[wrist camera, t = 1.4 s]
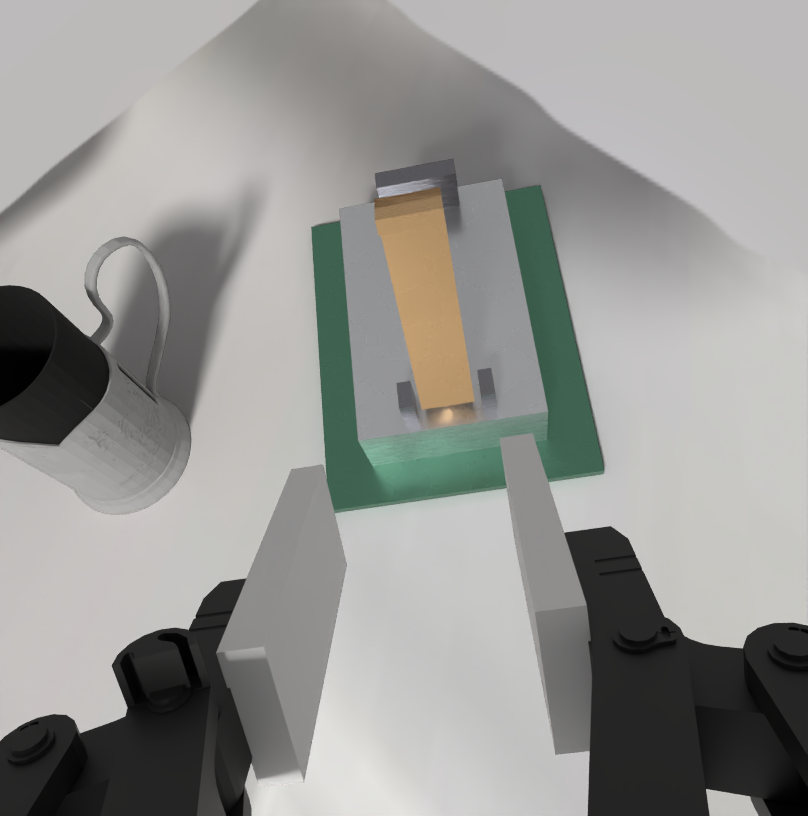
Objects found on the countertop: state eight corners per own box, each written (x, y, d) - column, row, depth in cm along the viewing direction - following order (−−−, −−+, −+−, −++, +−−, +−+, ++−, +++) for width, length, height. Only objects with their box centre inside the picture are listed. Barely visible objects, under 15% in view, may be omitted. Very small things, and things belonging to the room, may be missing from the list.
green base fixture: (603, 474, 46) (616, 423, 39) (331, 513, 48) (295, 471, 41) (540, 190, 56) (541, 107, 48) (313, 231, 57) (281, 157, 50)
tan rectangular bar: (473, 391, 44) (477, 421, 42) (422, 399, 44) (424, 429, 43) (438, 180, 35) (443, 208, 33) (374, 192, 35) (374, 220, 33)
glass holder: (44, 472, 52) (-127, 376, 39) (176, 316, 56) (62, 178, 42) (131, 539, 49) (-20, 460, 36) (265, 370, 53) (173, 239, 39)
